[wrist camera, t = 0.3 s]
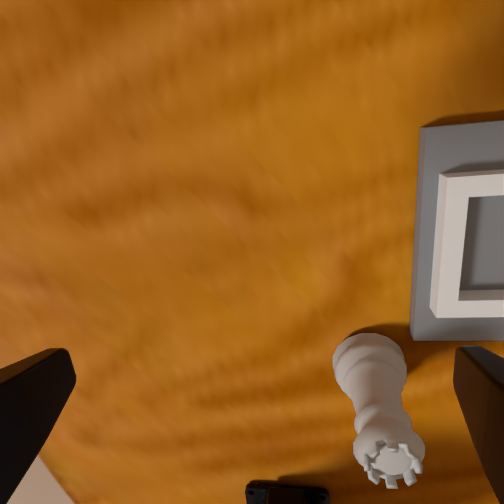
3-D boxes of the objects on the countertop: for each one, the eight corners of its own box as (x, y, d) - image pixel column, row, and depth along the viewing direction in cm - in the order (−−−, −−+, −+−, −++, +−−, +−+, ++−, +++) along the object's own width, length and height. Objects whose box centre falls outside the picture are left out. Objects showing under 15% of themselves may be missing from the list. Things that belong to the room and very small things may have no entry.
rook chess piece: (318, 350, 24) (321, 455, 17) (376, 315, 23) (410, 414, 15) (357, 396, 25) (378, 516, 17) (417, 365, 23) (467, 482, 16)
